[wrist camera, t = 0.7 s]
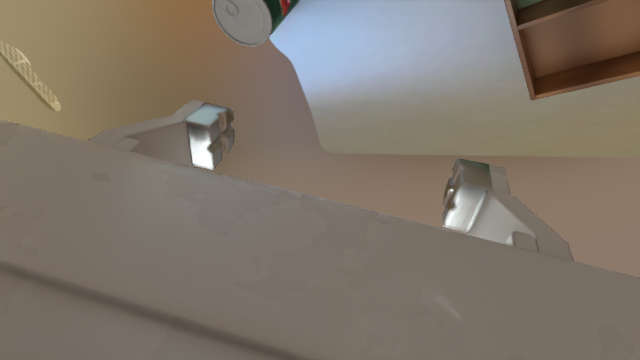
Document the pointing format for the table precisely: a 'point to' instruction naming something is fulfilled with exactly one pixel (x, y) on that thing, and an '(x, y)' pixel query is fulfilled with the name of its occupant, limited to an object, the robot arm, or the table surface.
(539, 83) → the tray
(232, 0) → the canned tomato
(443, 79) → the table surface
